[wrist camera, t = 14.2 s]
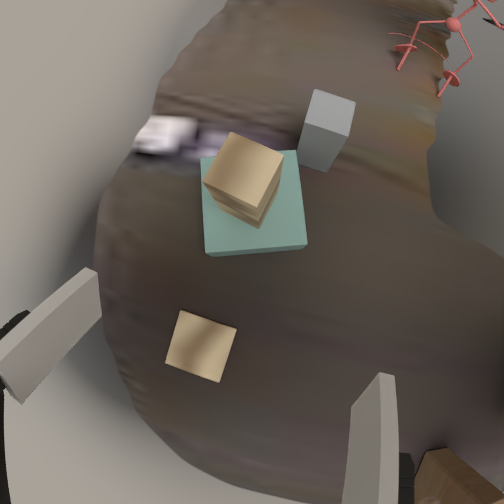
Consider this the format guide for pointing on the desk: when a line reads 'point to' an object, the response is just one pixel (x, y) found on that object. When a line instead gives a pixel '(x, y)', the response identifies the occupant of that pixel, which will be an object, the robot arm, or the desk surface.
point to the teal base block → (273, 227)
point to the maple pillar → (244, 179)
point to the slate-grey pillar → (324, 130)
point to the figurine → (451, 78)
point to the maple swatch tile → (200, 346)
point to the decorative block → (452, 481)
